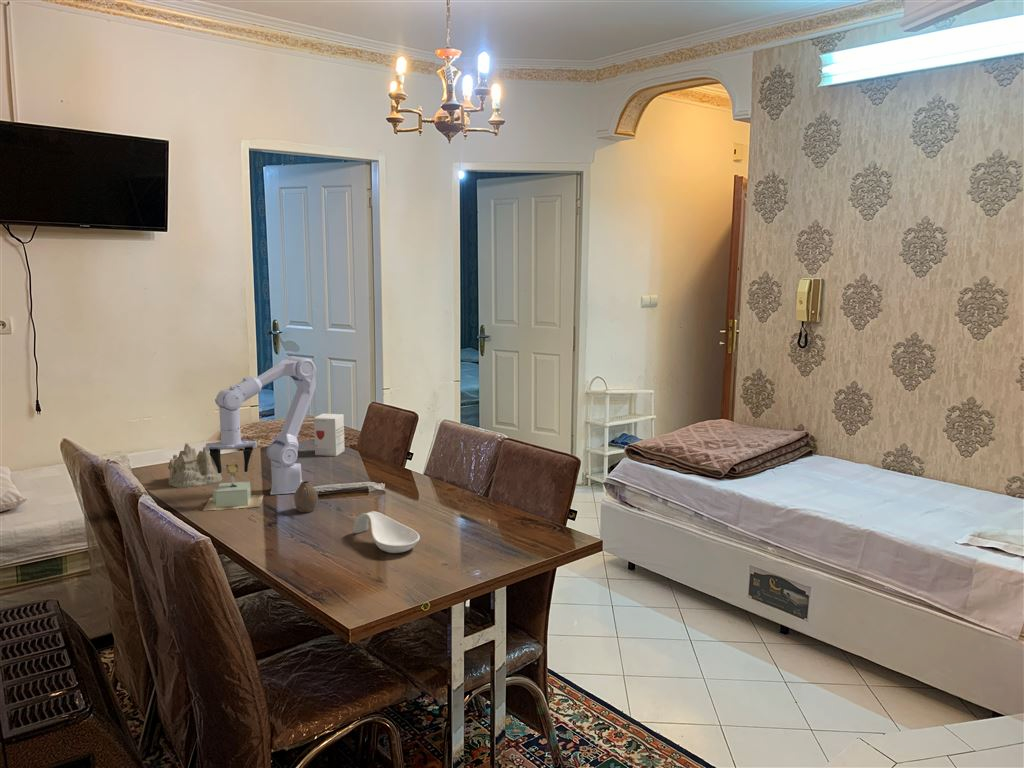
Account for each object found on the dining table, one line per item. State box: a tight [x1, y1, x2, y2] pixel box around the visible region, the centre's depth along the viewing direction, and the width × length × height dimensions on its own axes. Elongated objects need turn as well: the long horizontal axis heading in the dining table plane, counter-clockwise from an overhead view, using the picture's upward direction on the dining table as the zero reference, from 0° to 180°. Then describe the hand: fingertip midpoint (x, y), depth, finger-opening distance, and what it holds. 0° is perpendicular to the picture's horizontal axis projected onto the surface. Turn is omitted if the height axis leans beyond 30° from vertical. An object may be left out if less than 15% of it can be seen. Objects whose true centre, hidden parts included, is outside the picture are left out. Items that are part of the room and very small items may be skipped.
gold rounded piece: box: [226, 462, 239, 487], centre depth 228 cm, size 7×7×8 cm
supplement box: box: [313, 413, 345, 457], centre depth 291 cm, size 9×9×15 cm
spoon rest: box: [352, 510, 421, 554], centre depth 196 cm, size 24×12×7 cm, turn 44°
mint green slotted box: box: [212, 480, 252, 508], centre depth 229 cm, size 10×9×5 cm
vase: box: [293, 480, 319, 513], centre depth 222 cm, size 7×7×9 cm
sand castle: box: [167, 442, 223, 489], centre depth 253 cm, size 16×16×15 cm
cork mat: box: [203, 494, 264, 512], centre depth 230 cm, size 16×12×1 cm
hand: (233, 471), depth 229 cm, fingers open, 7 cm apart
